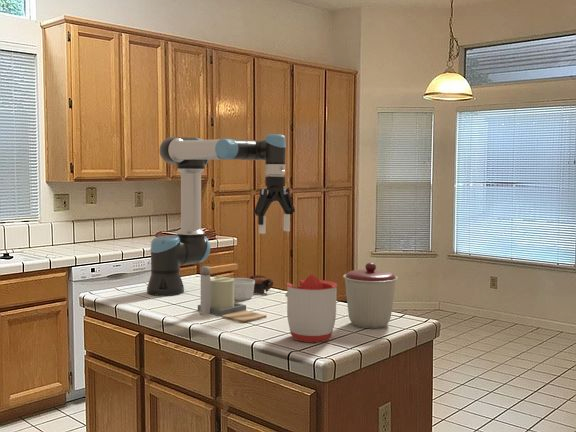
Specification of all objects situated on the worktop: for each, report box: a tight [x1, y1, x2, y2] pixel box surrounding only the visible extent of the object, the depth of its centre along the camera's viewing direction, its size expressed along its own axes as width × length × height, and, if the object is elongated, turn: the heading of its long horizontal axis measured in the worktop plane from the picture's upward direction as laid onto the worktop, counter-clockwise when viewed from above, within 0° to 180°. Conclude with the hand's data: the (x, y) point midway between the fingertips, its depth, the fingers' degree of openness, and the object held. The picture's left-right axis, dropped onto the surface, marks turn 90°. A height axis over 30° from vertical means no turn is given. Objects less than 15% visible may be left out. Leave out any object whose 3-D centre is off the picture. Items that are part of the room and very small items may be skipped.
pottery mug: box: [248, 274, 274, 295], centre depth 259 cm, size 12×10×8 cm
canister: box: [342, 262, 399, 329], centre depth 206 cm, size 18×18×21 cm
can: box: [210, 276, 235, 310], centre depth 225 cm, size 9×9×12 cm
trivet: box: [221, 310, 267, 324], centre depth 215 cm, size 11×11×1 cm
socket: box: [197, 274, 247, 317], centre depth 223 cm, size 12×15×14 cm
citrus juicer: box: [285, 273, 338, 344], centre depth 190 cm, size 16×17×20 cm
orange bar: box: [200, 263, 239, 275], centre depth 223 cm, size 3×16×2 cm, turn 139°
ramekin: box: [232, 277, 255, 301], centre depth 248 cm, size 13×13×7 cm
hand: (274, 232), depth 232 cm, fingers open, 13 cm apart
